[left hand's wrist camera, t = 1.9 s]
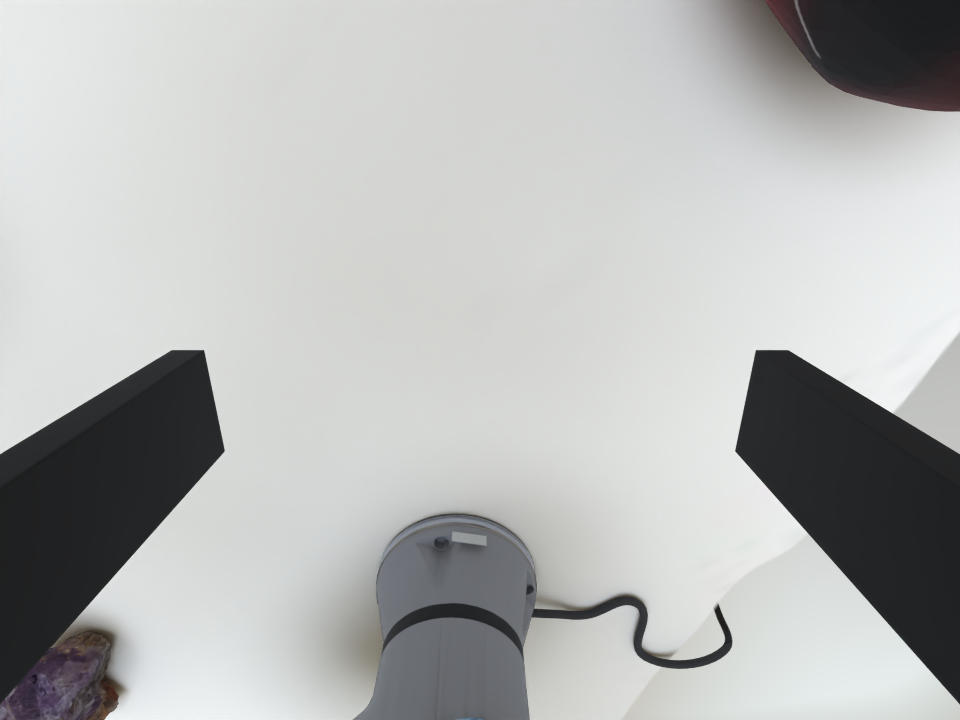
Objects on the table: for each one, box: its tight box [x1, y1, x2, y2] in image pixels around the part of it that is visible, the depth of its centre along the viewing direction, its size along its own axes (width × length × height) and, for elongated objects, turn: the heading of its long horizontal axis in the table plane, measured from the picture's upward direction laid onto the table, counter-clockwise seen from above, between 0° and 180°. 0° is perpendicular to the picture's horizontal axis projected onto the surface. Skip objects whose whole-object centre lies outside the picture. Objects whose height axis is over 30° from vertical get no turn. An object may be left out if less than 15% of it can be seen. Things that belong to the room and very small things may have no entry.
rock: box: [0, 632, 119, 720], centre depth 50 cm, size 12×9×10 cm
